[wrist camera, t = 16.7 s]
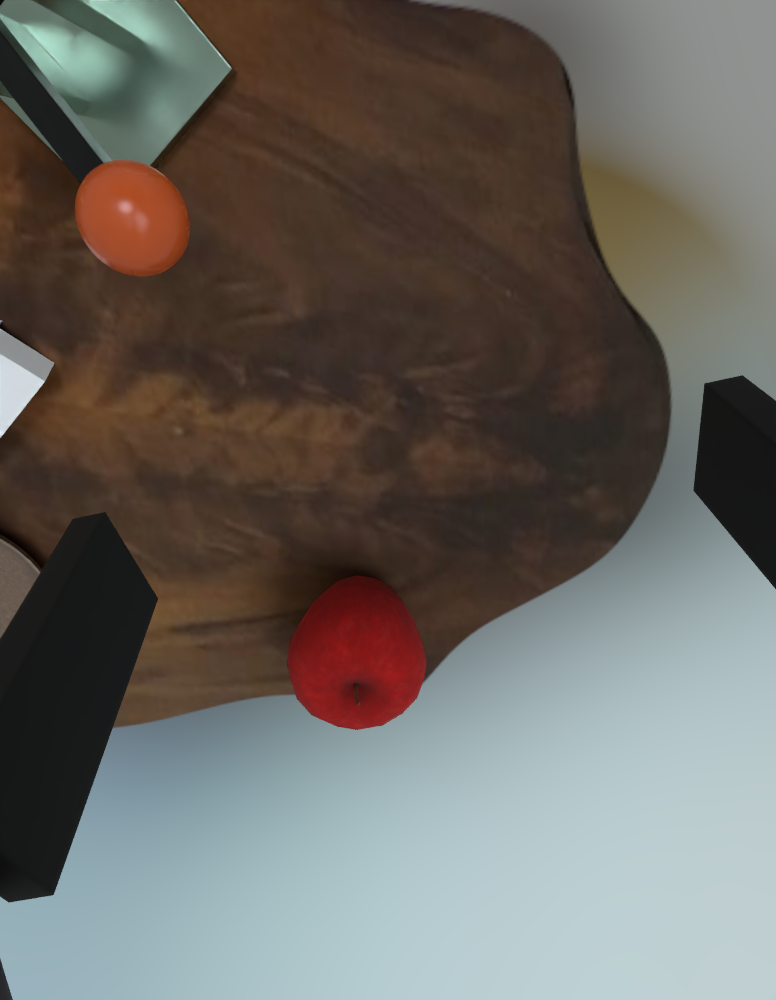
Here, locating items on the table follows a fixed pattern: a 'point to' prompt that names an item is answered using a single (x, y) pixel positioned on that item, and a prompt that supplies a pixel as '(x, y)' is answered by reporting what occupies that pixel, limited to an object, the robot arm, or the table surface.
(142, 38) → the clamp
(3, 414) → the bracket
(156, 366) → the table surface
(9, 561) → the saucer
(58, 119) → the clamp lever
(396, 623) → the apple
